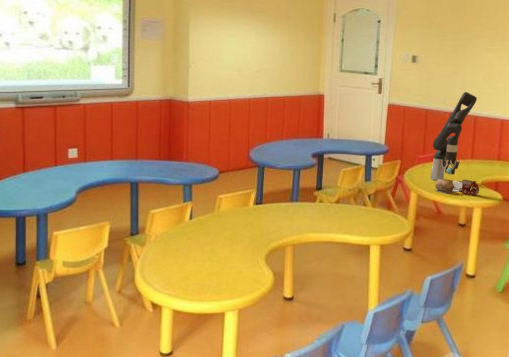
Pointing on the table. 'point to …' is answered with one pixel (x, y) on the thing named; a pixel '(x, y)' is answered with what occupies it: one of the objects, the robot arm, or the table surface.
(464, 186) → the toy fire truck
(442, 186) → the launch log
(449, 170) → the rubber ball
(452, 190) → the grey rectangular panel
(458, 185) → the frame
